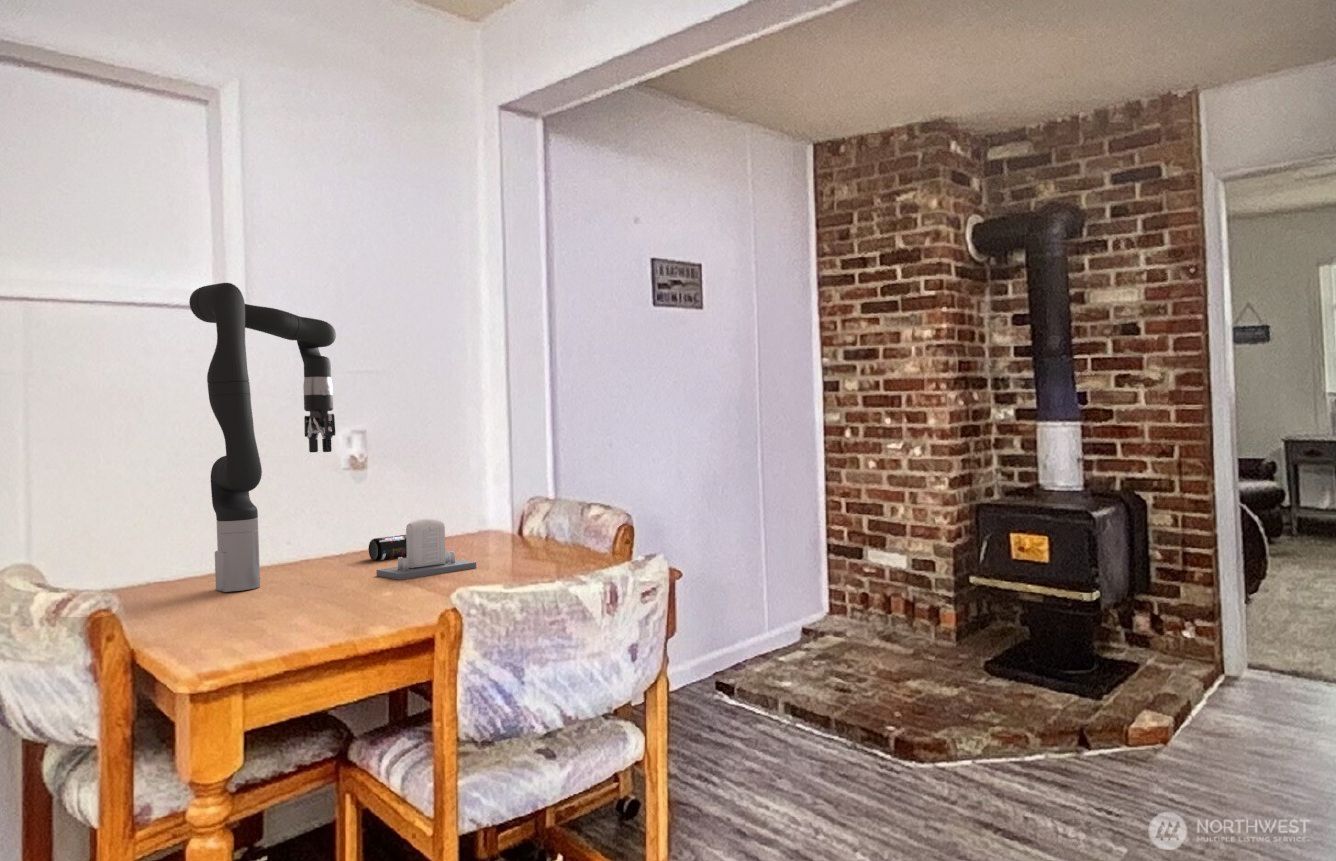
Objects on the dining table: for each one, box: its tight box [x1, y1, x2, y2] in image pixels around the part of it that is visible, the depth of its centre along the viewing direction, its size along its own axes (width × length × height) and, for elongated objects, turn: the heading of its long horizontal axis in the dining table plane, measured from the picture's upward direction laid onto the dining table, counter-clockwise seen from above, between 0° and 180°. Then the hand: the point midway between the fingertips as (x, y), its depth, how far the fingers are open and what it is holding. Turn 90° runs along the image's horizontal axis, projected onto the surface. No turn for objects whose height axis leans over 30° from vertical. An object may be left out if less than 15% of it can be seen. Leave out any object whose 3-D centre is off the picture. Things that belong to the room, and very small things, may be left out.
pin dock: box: [375, 550, 477, 581], centre depth 226 cm, size 12×22×4 cm, turn 136°
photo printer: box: [405, 517, 446, 568], centre depth 226 cm, size 10×4×12 cm, turn 135°
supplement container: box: [368, 534, 407, 562], centre depth 252 cm, size 7×7×10 cm
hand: (320, 452), depth 241 cm, fingers open, 8 cm apart
